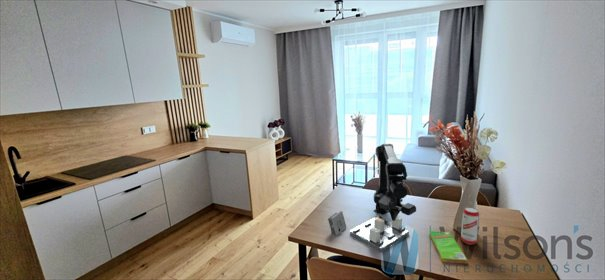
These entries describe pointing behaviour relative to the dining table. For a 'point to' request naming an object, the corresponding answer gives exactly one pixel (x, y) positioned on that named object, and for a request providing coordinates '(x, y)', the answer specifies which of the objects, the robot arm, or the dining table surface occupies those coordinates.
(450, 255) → the game box
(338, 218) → the electrical switch
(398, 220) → the block
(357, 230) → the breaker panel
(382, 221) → the breaker
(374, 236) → the breaker
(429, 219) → the dining table surface
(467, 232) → the beer can
